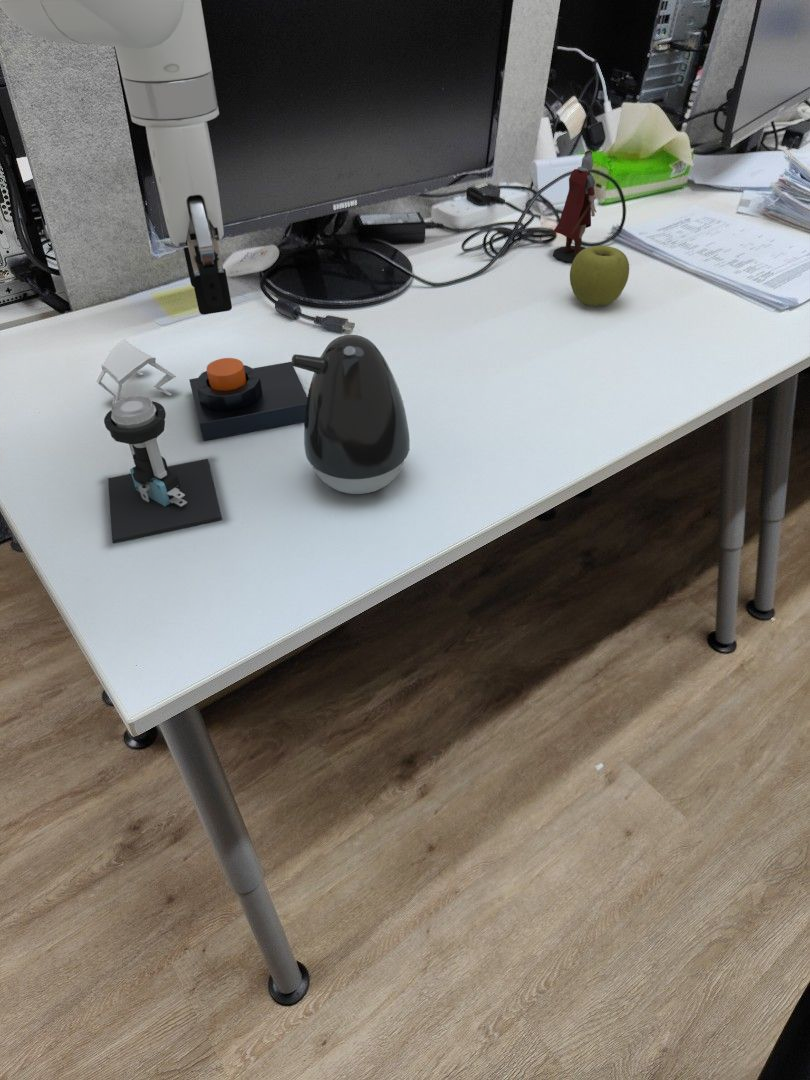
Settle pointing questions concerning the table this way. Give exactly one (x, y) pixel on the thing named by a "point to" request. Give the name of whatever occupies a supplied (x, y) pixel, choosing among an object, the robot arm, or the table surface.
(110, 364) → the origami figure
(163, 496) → the push button
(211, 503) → the pad
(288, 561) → the table surface
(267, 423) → the station
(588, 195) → the figurine
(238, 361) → the orange short cylinder
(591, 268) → the apple
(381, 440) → the pump dispenser
